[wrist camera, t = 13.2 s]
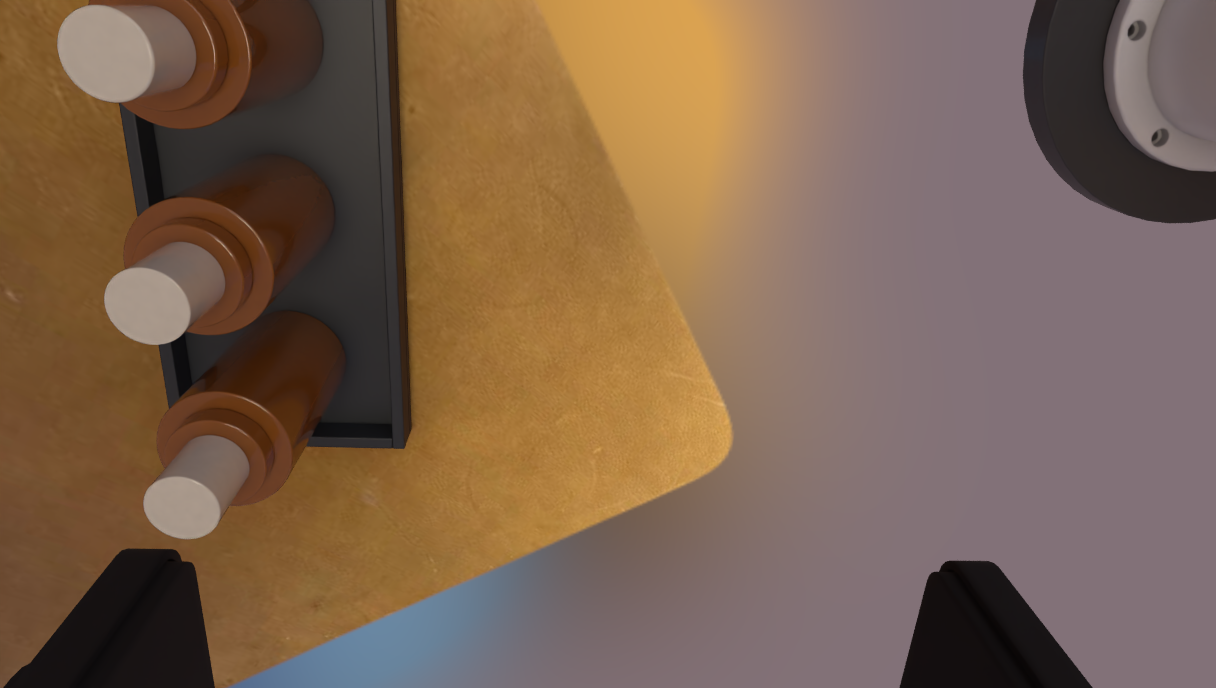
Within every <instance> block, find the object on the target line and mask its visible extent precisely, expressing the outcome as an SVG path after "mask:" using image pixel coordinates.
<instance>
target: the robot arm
mask: <svg viewBox="0 0 1216 688" xmlns="http://www.w3.org/2000/svg"><path fill="white" fill-rule="evenodd" d="M1128 29H1129V31H1128ZM1103 70H1104V89H1105V93H1106V97H1107V101H1108V105H1109V110H1110V112H1111V114H1112V116H1113V118H1114V120H1115V122H1116V124H1117V126H1118V128H1119V130H1120V131H1121V132H1122V133H1123V134H1124V136H1125V137H1126V138H1127V139H1128V140H1129V142H1130V143H1131V144H1132V145H1133V146H1134V147H1136V148H1137V149H1138V150H1140V151H1141V152H1142V153H1144V154H1145V155H1147V156H1148V157H1149V158H1152V159H1154V160H1157V161H1159V162H1162V163H1164V164H1167V165H1170V166H1174V167H1178V168H1183V169H1187V170H1192V171H1211V172H1213V171H1216V0H1120V1H1119V3H1118V5H1117V7H1116V9H1115V12H1114V15H1113V19H1112V22H1111V25H1110V28H1109V31H1108V34H1107V40H1106V46H1105V53H1104V60H1103ZM4 688H215V686H214V680H213V674H212V668H211V662H210V656H209V650H208V643H207V637H206V631H205V625H204V619H203V613H202V607H201V601H200V595H199V588H198V582H197V576H196V571H195V567H194V565H193V564H192V563H191V562H182V560H181V557H180V555H179V553H178V552H177V551H176V550H173V549H125V550H122V551H121V552H120V553H119V554H118V555H117V556H116V557H115V558H114V559H113V560H112V562H111V563H110V564H109V565H108V567H107V568H106V569H105V570H104V572H103V573H102V574H101V575H100V577H99V578H98V579H97V580H96V582H95V583H94V584H93V585H92V587H91V588H90V589H89V590H88V592H87V593H86V594H85V595H84V597H83V598H82V599H81V600H80V602H79V603H78V604H77V605H76V607H75V608H74V609H73V610H72V612H71V613H70V614H69V615H68V617H67V618H66V619H65V620H64V622H63V623H62V624H61V625H60V627H59V628H58V629H57V630H56V632H55V633H54V634H53V635H52V637H51V638H50V639H49V640H48V642H47V643H46V644H45V645H44V647H43V648H42V649H41V650H40V652H39V653H38V654H37V655H36V657H35V658H34V659H33V660H32V662H31V663H30V664H28V665H26V666H24V667H22V668H21V669H20V670H19V671H18V672H17V673H16V674H15V675H14V676H13V677H12V678H11V679H10V680H9V681H8V683H7V684H6V685H5V686H4ZM900 688H1092V686H1091V685H1090V684H1089V683H1088V681H1087V680H1086V679H1085V677H1084V676H1083V675H1082V674H1081V672H1080V671H1079V670H1078V668H1077V667H1076V666H1075V665H1074V663H1073V662H1072V661H1071V659H1070V658H1069V657H1068V656H1067V654H1066V653H1065V652H1064V650H1063V649H1062V648H1061V647H1060V646H1059V644H1058V643H1057V642H1056V640H1055V639H1054V638H1053V636H1052V635H1051V634H1050V632H1049V631H1048V630H1047V629H1046V627H1045V626H1044V625H1043V623H1042V622H1041V621H1040V620H1039V618H1038V617H1037V616H1036V615H1035V613H1034V612H1033V611H1032V609H1031V608H1030V607H1029V605H1028V604H1027V603H1026V602H1025V600H1024V599H1023V598H1022V596H1021V595H1020V594H1019V593H1018V591H1017V590H1016V589H1015V587H1014V586H1013V585H1012V584H1011V582H1010V581H1009V580H1008V579H1007V577H1006V576H1005V575H1004V573H1003V572H1002V571H1001V569H1000V568H999V567H998V566H997V565H995V564H994V563H992V562H989V561H947V562H945V563H944V564H943V565H942V566H941V569H940V571H939V572H933V573H931V574H930V575H929V577H928V580H927V583H926V587H925V591H924V595H923V599H922V603H921V607H920V610H919V615H918V618H917V622H916V626H915V630H914V634H913V638H912V642H911V645H910V649H909V653H908V657H907V661H906V665H905V669H904V673H903V676H902V680H901V685H900Z"/></svg>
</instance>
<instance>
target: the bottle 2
mask: <svg viewBox="0 0 1216 688" xmlns="http://www.w3.org/2000/svg"><path fill="white" fill-rule="evenodd" d="M334 226H335V208H334V203H333V200H332V197H331V195H330V192H329V190H328V189H327V187H326V185H325V184H324V182H323V181H322V180H321V178H320V177H319V176H318V175H317V174H316V173H315V172H314V171H313V170H312V169H310V168H309V167H308V166H306V165H305V164H303V163H302V162H300V161H298V160H296V159H293V158H291V157H288V156H284V155H279V154H259V155H255V156H251V157H249V158H246V159H244V160H242V161H240V162H238V163H236V164H234V165H232V166H230V167H228V168H226V169H224V170H222V171H220V172H218V173H216V174H214V175H212V176H210V177H208V178H206V179H204V180H202V181H200V182H198V183H196V184H194V185H192V186H190V187H188V188H186V189H184V190H182V191H180V192H178V193H176V194H174V195H172V196H170V197H168V198H166V199H164V200H162V201H160V202H158V203H156V204H154V205H152V206H150V207H149V208H147V209H146V210H145V211H143V212H142V213H141V214H140V215H139V216H138V217H137V219H136V220H135V221H134V222H133V224H132V226H131V227H130V229H129V231H128V234H127V237H126V240H125V245H124V265H125V269H124V270H122V271H121V272H119V273H118V274H116V275H115V276H114V277H113V278H112V279H111V280H110V281H109V283H108V285H107V287H106V290H105V295H104V303H105V308H106V312H107V314H108V316H109V318H110V320H111V321H112V323H113V324H114V325H115V326H116V328H117V329H118V330H119V331H121V332H122V333H123V334H124V335H126V336H127V337H129V338H131V339H133V340H135V341H137V342H141V343H144V344H151V345H160V344H166V343H170V342H172V341H174V340H176V339H178V338H179V337H180V336H181V335H182V334H184V333H185V332H186V331H187V332H190V333H195V334H201V335H221V334H228V333H231V332H235V331H237V330H240V329H242V328H244V327H246V326H247V325H249V324H251V323H252V322H253V321H254V320H256V319H257V318H258V317H259V316H260V315H261V314H262V313H263V312H264V311H265V310H266V308H267V307H268V306H269V305H270V304H271V303H272V302H273V301H274V300H275V299H276V298H277V297H278V296H279V295H280V294H281V293H282V292H283V291H284V290H285V289H286V288H287V287H288V285H289V284H290V283H291V282H292V281H293V280H294V279H295V278H296V277H297V276H298V275H299V274H300V273H301V272H302V271H303V270H304V269H305V268H306V267H307V266H308V265H309V264H310V262H311V261H312V260H313V259H314V258H315V257H316V256H317V255H318V254H319V253H320V252H321V251H322V250H323V249H324V248H325V246H326V245H327V243H328V242H329V240H330V238H331V236H332V234H333V230H334Z"/></svg>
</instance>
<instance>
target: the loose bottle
mask: <svg viewBox="0 0 1216 688" xmlns="http://www.w3.org/2000/svg"><path fill="white" fill-rule="evenodd" d="M345 372H346V357H345V353H344V349H343V347H342V345H341V343H340V341H339V339H338V338H337V336H336V335H335V334H334V332H333V331H332V330H331V329H330V328H329V327H328V326H326V325H325V324H324V323H323V322H321V321H319V320H318V319H316V318H314V317H312V316H310V315H307V314H304V313H300V312H295V311H277V312H272V313H268V314H266V315H263V316H261V317H259V318H258V319H256V320H255V321H254V322H252V323H251V324H250V325H249V326H248V327H247V328H246V329H245V330H244V331H243V332H242V333H241V334H240V336H239V337H238V338H237V339H236V340H235V341H234V342H233V343H232V344H231V345H230V346H229V347H228V348H227V349H226V350H225V351H224V352H223V353H222V354H221V355H220V356H219V357H218V358H217V359H216V361H215V362H214V363H213V364H212V365H211V366H210V367H209V368H208V369H207V370H206V371H205V372H204V373H203V374H202V375H201V376H200V377H199V378H198V379H197V380H196V381H195V382H194V383H193V385H192V386H191V387H190V388H189V389H188V390H187V391H186V392H185V393H184V394H183V395H182V396H181V397H180V398H179V399H178V400H177V401H176V402H175V403H174V404H173V405H172V406H171V407H170V409H169V410H168V411H167V412H166V413H165V415H164V416H163V418H162V420H161V422H160V425H159V428H158V432H157V450H158V453H159V457H160V460H161V462H162V464H163V466H164V468H165V469H164V470H163V471H162V472H161V474H160V475H159V476H158V477H157V478H156V480H155V481H154V482H153V483H152V484H151V485H150V487H149V488H148V489H147V491H146V493H145V495H144V501H143V505H144V511H145V514H146V516H147V518H148V519H149V521H150V522H151V523H152V524H153V525H154V526H155V527H156V528H157V529H158V530H160V531H161V532H163V533H165V534H167V535H169V536H172V537H175V538H180V539H195V538H199V537H202V536H205V535H207V534H208V533H210V532H211V531H213V530H214V529H215V528H216V526H217V525H218V523H219V522H220V520H221V519H222V517H223V515H224V514H225V512H226V511H227V509H228V508H229V506H242V505H249V504H253V503H256V502H259V501H261V500H264V499H266V498H268V497H269V496H271V495H273V494H274V493H275V492H277V491H278V490H279V489H280V488H281V487H282V486H283V484H284V483H285V482H286V480H287V479H288V477H289V475H290V473H291V472H292V470H293V468H294V466H295V465H296V463H297V461H298V459H299V457H300V456H301V454H302V452H303V450H304V449H305V447H306V445H307V443H308V442H309V440H310V438H311V436H312V435H313V433H314V431H315V429H316V428H317V426H318V424H319V422H320V421H321V419H322V417H323V415H324V414H325V412H326V410H327V408H328V407H329V405H330V403H331V401H332V400H333V398H334V396H335V394H336V393H337V391H338V389H339V387H340V386H341V384H342V382H343V380H344V376H345Z"/></svg>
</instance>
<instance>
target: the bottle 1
mask: <svg viewBox="0 0 1216 688" xmlns="http://www.w3.org/2000/svg"><path fill="white" fill-rule="evenodd" d="M57 47H58V54H59V58H60V61H61V63H62V66H63V68H64V69H65V71H66V73H67V74H68V76H69V77H70V78H71V80H72V81H73V82H74V83H75V84H76V85H77V86H78V87H79V88H81V89H82V90H83V91H84V92H86V93H87V94H89V95H91V96H93V97H95V98H97V99H100V100H102V101H106V102H112V103H121V104H122V105H123V106H124V107H126V108H127V109H128V110H129V111H131V112H132V113H134V114H136V115H137V116H139V117H141V118H143V119H145V120H147V121H149V122H151V123H154V124H157V125H159V126H163V127H167V128H173V129H196V128H202V127H205V126H208V125H211V124H214V123H217V122H220V121H223V120H226V119H229V118H231V117H234V116H237V115H240V114H243V113H246V112H249V111H251V110H254V109H257V108H260V107H263V106H266V105H268V104H271V103H274V102H277V101H280V100H283V99H286V98H288V97H291V96H293V95H295V94H297V93H299V92H300V91H302V90H303V89H304V88H305V87H307V86H308V85H309V84H310V82H311V81H312V80H313V79H314V77H315V75H316V74H317V72H318V69H319V67H320V65H321V61H322V57H323V34H322V29H321V26H320V22H319V20H318V17H317V15H316V13H315V11H314V9H313V7H312V6H311V4H310V3H309V1H308V0H90V1H89V4H88V5H87V6H83V7H80V8H78V9H76V10H74V11H73V12H72V13H70V14H69V15H68V16H67V17H66V19H65V20H64V21H63V23H62V25H61V27H60V30H59V33H58V39H57Z"/></svg>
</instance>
